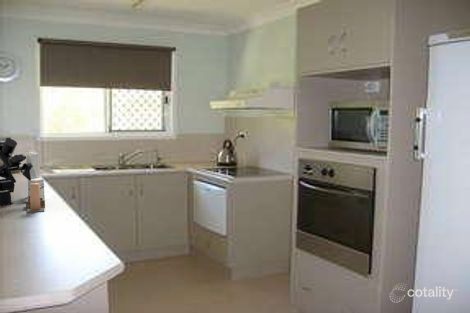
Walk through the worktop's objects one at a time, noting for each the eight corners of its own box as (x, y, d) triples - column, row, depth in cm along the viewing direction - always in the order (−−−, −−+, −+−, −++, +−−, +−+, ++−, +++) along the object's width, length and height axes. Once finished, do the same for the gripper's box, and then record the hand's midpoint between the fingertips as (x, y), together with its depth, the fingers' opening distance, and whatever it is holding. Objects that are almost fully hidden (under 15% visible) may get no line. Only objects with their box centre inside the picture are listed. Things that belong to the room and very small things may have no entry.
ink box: (36, 200, 269) (35, 180, 268) (28, 200, 270) (27, 180, 269) (45, 198, 278) (44, 178, 277) (37, 198, 279) (36, 178, 278)
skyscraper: (35, 197, 280) (33, 150, 278) (24, 197, 282) (22, 150, 280) (43, 195, 288) (41, 149, 286) (32, 195, 290) (30, 149, 287)
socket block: (26, 206, 252) (26, 198, 252) (44, 205, 255) (44, 197, 255) (26, 209, 244) (25, 201, 243) (45, 207, 247) (44, 200, 247)
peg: (28, 209, 239) (27, 184, 237) (37, 208, 242) (36, 182, 241) (33, 210, 236) (32, 185, 235) (42, 209, 240) (41, 183, 238)
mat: (27, 210, 241) (27, 209, 241) (44, 208, 244) (44, 207, 244) (26, 213, 234) (26, 211, 234) (44, 211, 237) (44, 210, 237)
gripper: (-2, 150, 243) (14, 172, 239) (29, 147, 259) (44, 168, 255) (-11, 165, 247) (4, 187, 243) (20, 161, 264) (35, 182, 259)
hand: (23, 181), depth 250 cm, fingers open, 9 cm apart
